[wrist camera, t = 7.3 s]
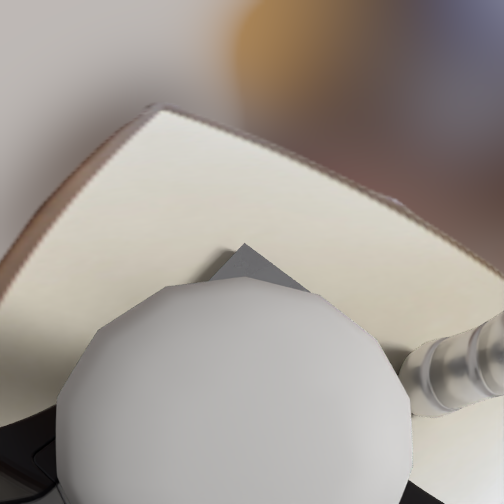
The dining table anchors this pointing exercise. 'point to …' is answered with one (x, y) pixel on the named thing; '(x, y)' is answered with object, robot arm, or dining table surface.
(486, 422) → the dining table surface
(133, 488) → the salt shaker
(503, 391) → the plastic bottle
